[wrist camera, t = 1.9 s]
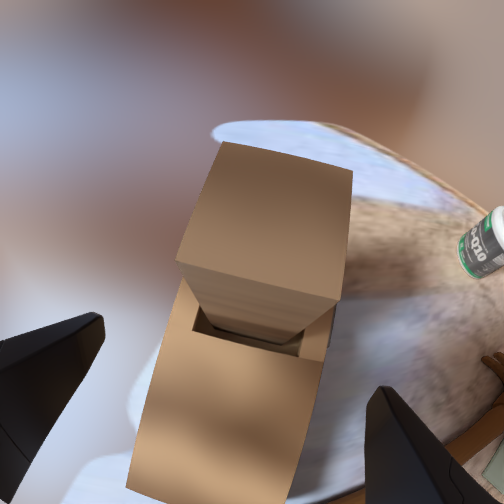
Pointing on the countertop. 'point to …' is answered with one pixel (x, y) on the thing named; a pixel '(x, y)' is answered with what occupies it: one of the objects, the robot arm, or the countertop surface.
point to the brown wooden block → (267, 242)
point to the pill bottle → (483, 246)
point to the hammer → (471, 440)
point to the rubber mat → (496, 469)
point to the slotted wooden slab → (225, 411)
